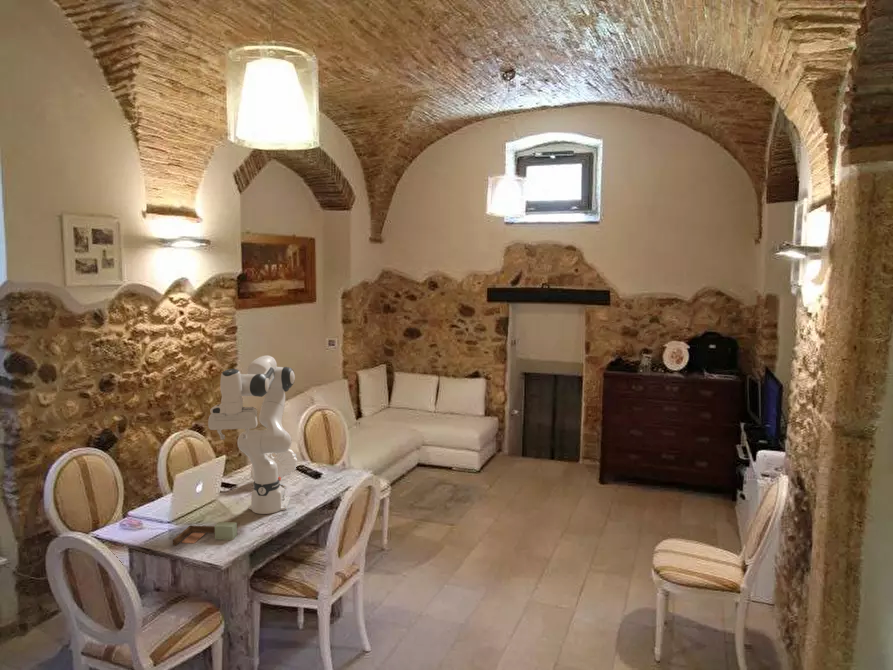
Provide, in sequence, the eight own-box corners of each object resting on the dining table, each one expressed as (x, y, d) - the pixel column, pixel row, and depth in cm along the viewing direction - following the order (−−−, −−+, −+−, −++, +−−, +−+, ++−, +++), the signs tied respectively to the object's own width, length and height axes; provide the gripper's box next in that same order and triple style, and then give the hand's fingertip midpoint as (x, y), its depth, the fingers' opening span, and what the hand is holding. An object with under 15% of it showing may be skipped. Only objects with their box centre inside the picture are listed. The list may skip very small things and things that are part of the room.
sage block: (219, 535, 285) (219, 521, 285) (237, 535, 284) (236, 522, 284) (215, 539, 281) (214, 526, 280) (232, 539, 280) (232, 526, 279)
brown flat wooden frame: (190, 530, 290) (190, 525, 290) (217, 531, 289) (217, 526, 288) (172, 545, 275) (172, 539, 275) (201, 546, 274) (201, 540, 273)
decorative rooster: (245, 486, 346) (243, 441, 344) (261, 477, 361) (259, 433, 359) (286, 490, 339) (284, 444, 336) (301, 481, 354) (299, 436, 351)
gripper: (258, 405, 282) (259, 435, 283) (210, 406, 280) (211, 437, 281) (255, 408, 275) (257, 439, 277) (206, 409, 273) (207, 441, 275)
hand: (233, 438), depth 279 cm, fingers open, 8 cm apart
